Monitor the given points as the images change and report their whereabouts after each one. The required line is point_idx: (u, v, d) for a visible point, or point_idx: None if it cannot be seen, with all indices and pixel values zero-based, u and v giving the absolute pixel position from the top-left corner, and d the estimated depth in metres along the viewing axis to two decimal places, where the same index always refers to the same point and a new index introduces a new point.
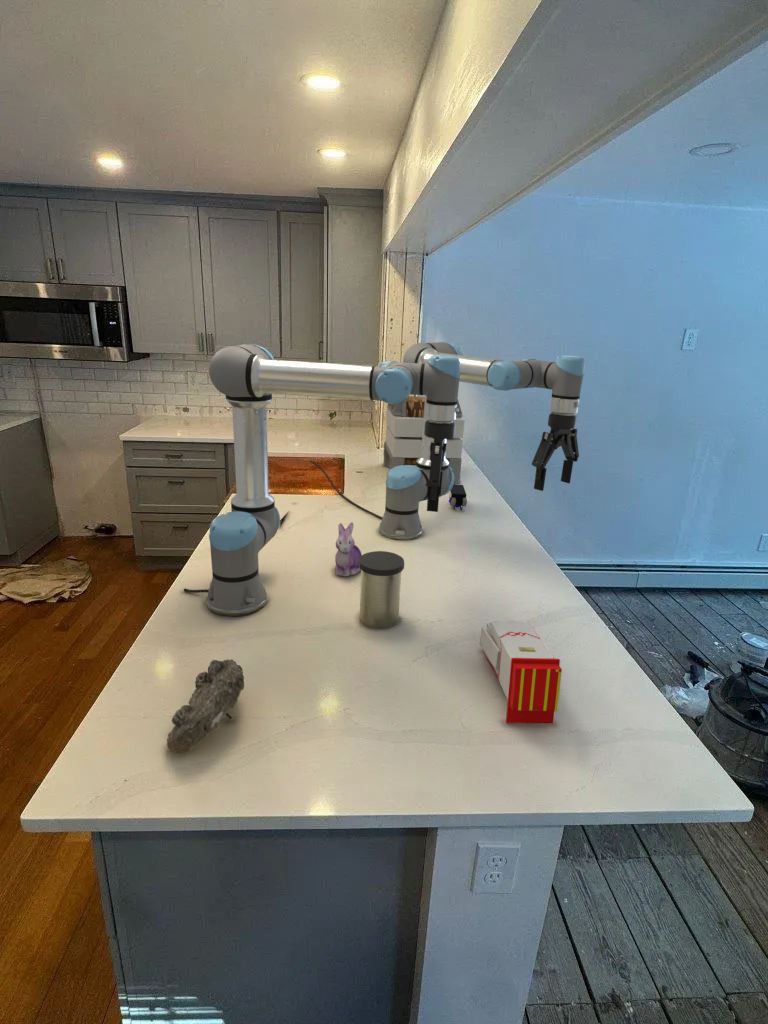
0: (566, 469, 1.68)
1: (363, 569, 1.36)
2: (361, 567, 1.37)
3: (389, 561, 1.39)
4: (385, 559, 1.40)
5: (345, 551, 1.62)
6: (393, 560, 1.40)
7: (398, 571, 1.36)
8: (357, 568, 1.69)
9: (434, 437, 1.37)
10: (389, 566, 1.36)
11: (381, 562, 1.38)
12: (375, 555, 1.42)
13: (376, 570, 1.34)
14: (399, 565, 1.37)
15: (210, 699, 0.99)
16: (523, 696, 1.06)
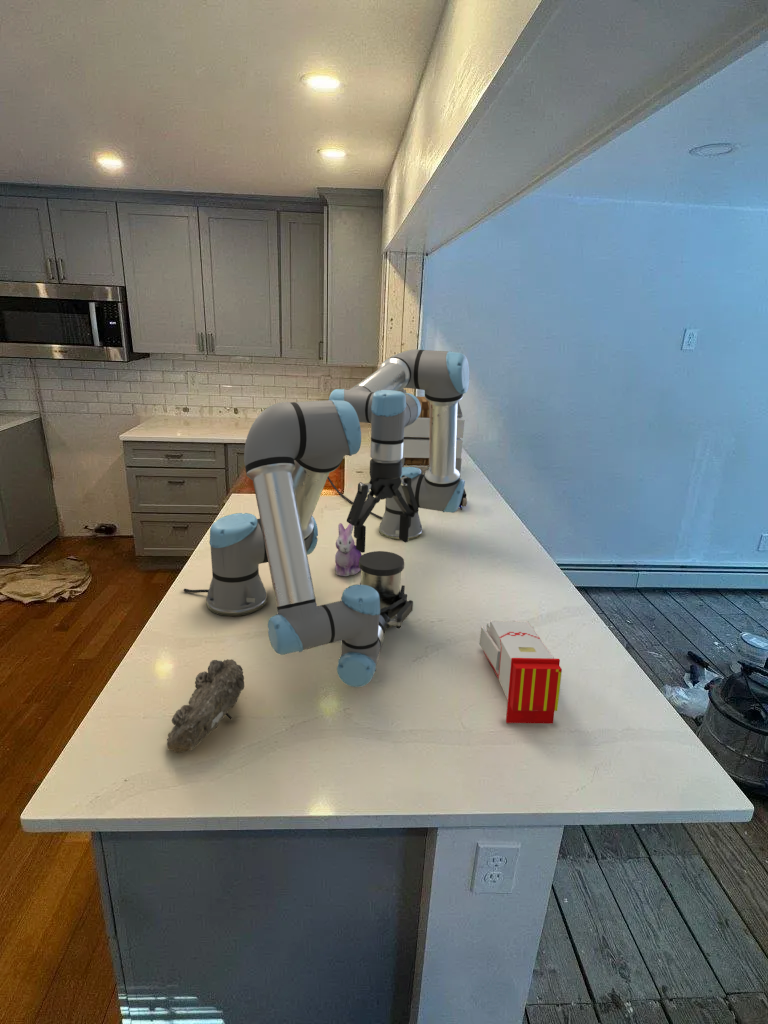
0: None
1: (363, 569, 1.36)
2: (361, 567, 1.37)
3: (389, 561, 1.39)
4: (385, 559, 1.40)
5: (345, 551, 1.62)
6: (393, 560, 1.40)
7: (398, 571, 1.36)
8: (357, 568, 1.69)
9: None
10: (389, 566, 1.36)
11: (381, 562, 1.38)
12: (375, 555, 1.42)
13: (376, 570, 1.34)
14: (399, 565, 1.37)
15: (210, 699, 0.99)
16: (523, 696, 1.06)
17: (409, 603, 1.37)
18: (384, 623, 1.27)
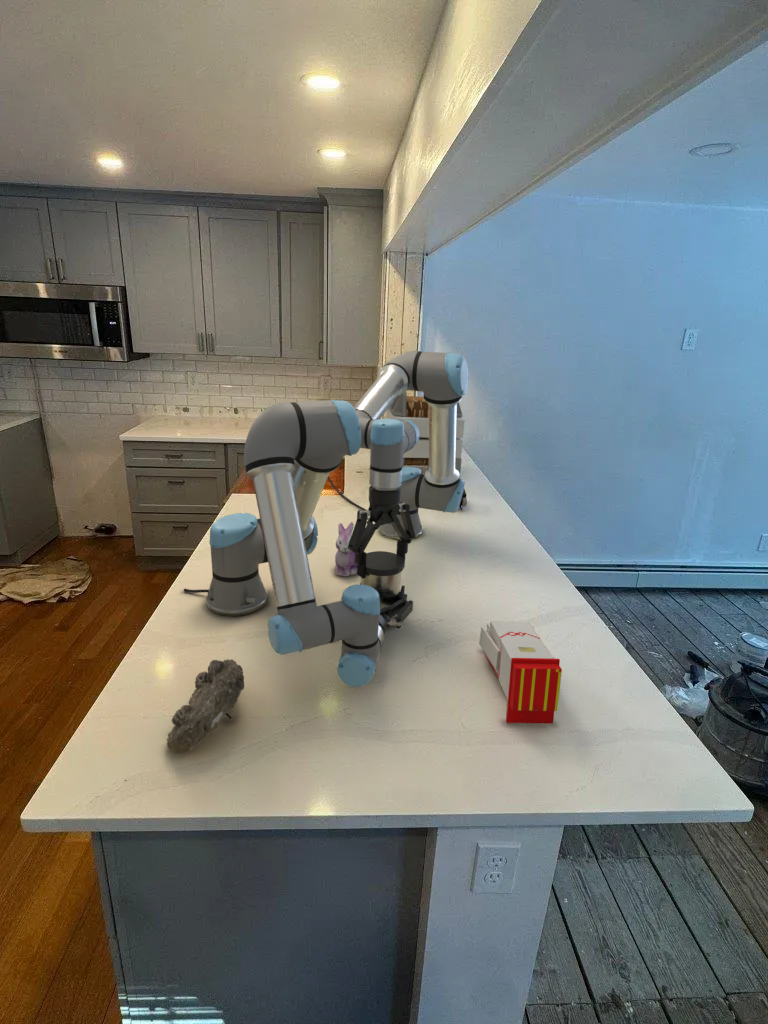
0: None
1: None
2: None
3: (389, 561, 1.39)
4: (385, 559, 1.40)
5: (345, 551, 1.62)
6: (393, 560, 1.40)
7: (398, 571, 1.36)
8: None
9: None
10: (389, 566, 1.36)
11: (381, 562, 1.38)
12: (375, 555, 1.42)
13: (376, 570, 1.34)
14: (399, 565, 1.37)
15: (210, 699, 0.99)
16: (523, 696, 1.06)
17: (409, 603, 1.37)
18: (384, 623, 1.27)
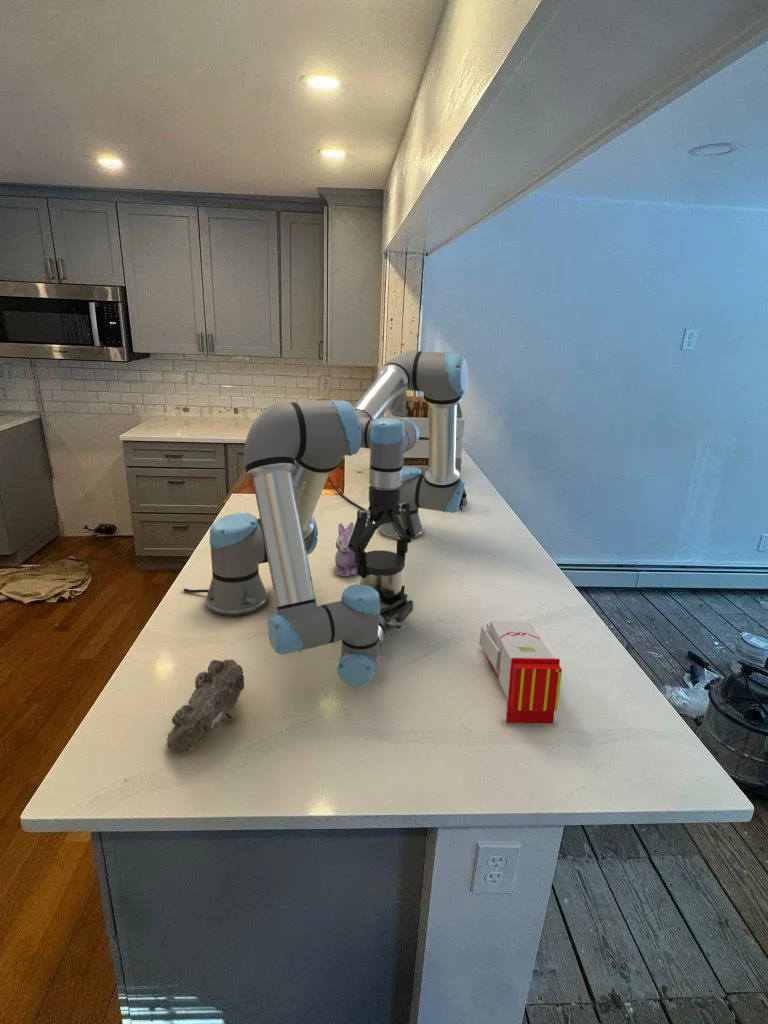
0: None
1: (403, 567, 1.38)
2: (401, 568, 1.37)
3: (379, 556, 1.41)
4: (377, 558, 1.40)
5: (345, 551, 1.62)
6: (374, 555, 1.41)
7: None
8: None
9: None
10: (389, 553, 1.43)
11: (386, 558, 1.40)
12: (375, 564, 1.37)
13: None
14: (381, 551, 1.44)
15: (210, 699, 0.99)
16: (523, 696, 1.06)
17: (409, 603, 1.37)
18: (384, 623, 1.27)
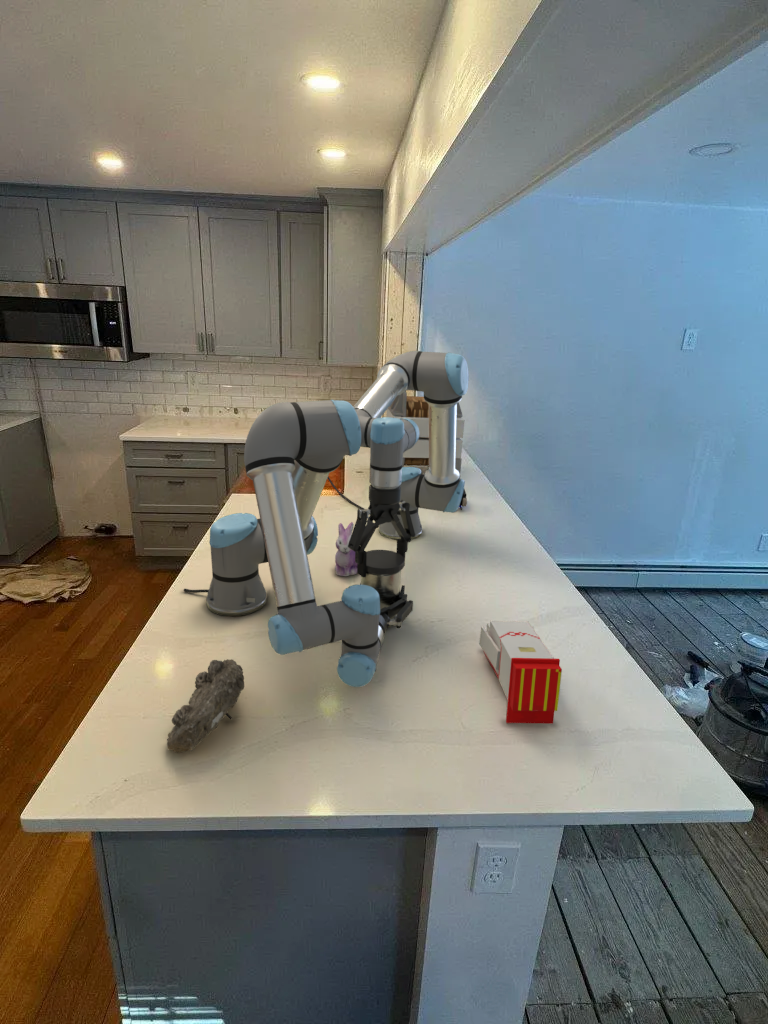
0: None
1: None
2: None
3: (376, 561, 1.38)
4: (382, 560, 1.38)
5: (345, 551, 1.62)
6: (377, 563, 1.37)
7: None
8: None
9: None
10: None
11: (377, 557, 1.40)
12: (394, 558, 1.40)
13: None
14: None
15: (210, 699, 0.99)
16: (523, 696, 1.06)
17: (409, 603, 1.37)
18: (384, 623, 1.27)
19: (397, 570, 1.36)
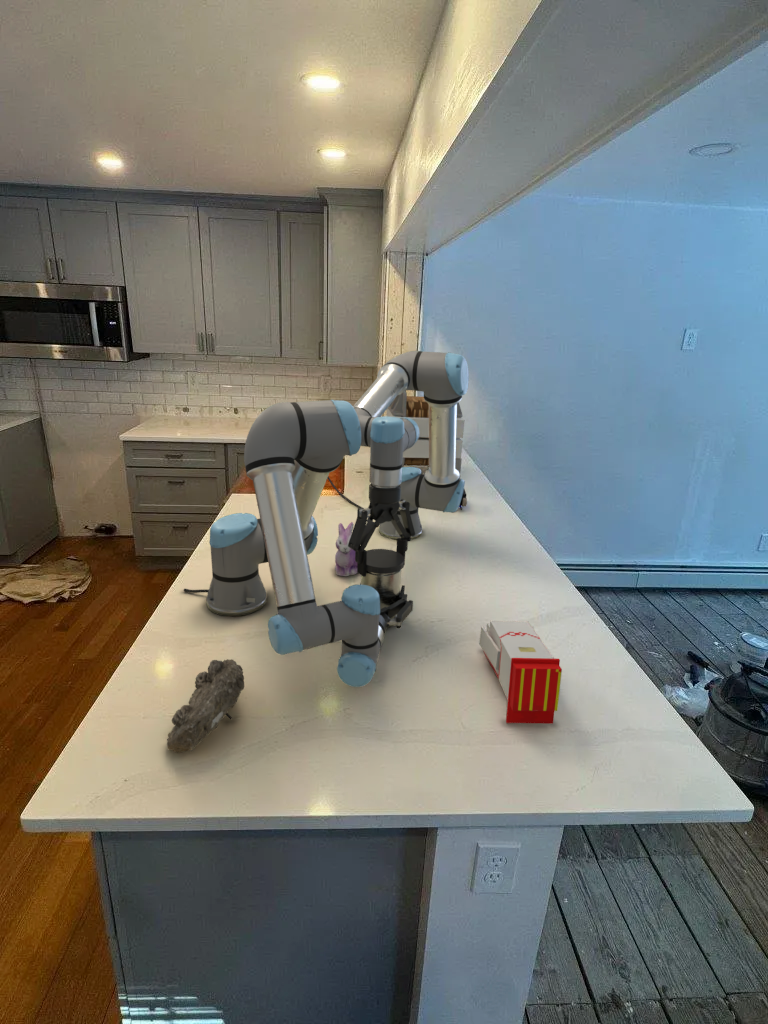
0: None
1: (366, 568, 1.36)
2: None
3: (389, 558, 1.39)
4: (385, 556, 1.40)
5: (345, 551, 1.62)
6: (393, 557, 1.40)
7: (400, 567, 1.37)
8: None
9: None
10: (392, 563, 1.36)
11: (382, 560, 1.38)
12: (373, 553, 1.41)
13: (380, 568, 1.34)
14: (401, 561, 1.38)
15: (210, 699, 0.99)
16: (523, 696, 1.06)
17: (409, 603, 1.37)
18: (384, 623, 1.27)
19: None
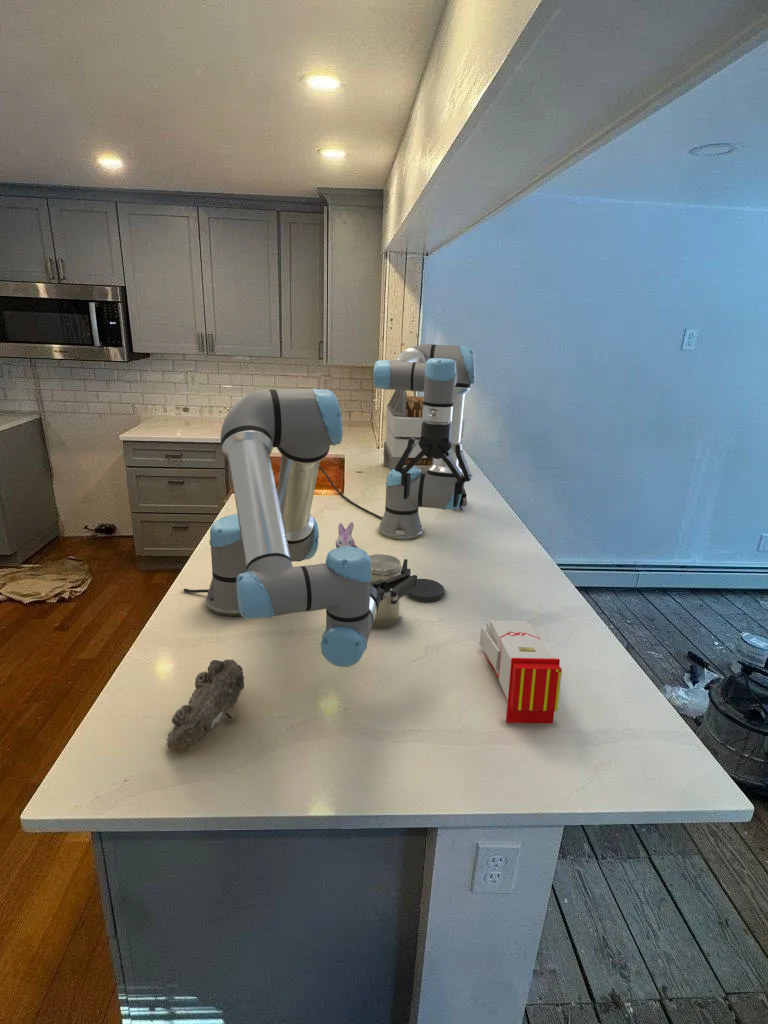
0: None
1: (443, 593, 1.58)
2: (443, 594, 1.57)
3: (420, 584, 1.60)
4: (420, 586, 1.59)
5: None
6: None
7: None
8: None
9: None
10: (427, 581, 1.62)
11: (427, 586, 1.60)
12: (421, 592, 1.56)
13: None
14: (419, 579, 1.63)
15: (210, 699, 0.99)
16: (523, 696, 1.06)
17: (412, 578, 1.19)
18: (377, 595, 1.10)
19: None
